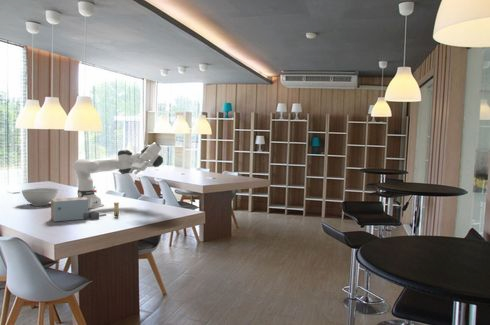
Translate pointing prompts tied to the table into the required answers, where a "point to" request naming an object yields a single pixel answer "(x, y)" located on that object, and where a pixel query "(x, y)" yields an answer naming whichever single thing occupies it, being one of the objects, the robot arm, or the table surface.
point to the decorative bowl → (39, 195)
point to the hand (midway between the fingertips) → (132, 173)
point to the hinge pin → (116, 208)
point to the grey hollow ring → (91, 215)
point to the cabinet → (61, 200)
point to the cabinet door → (70, 209)
